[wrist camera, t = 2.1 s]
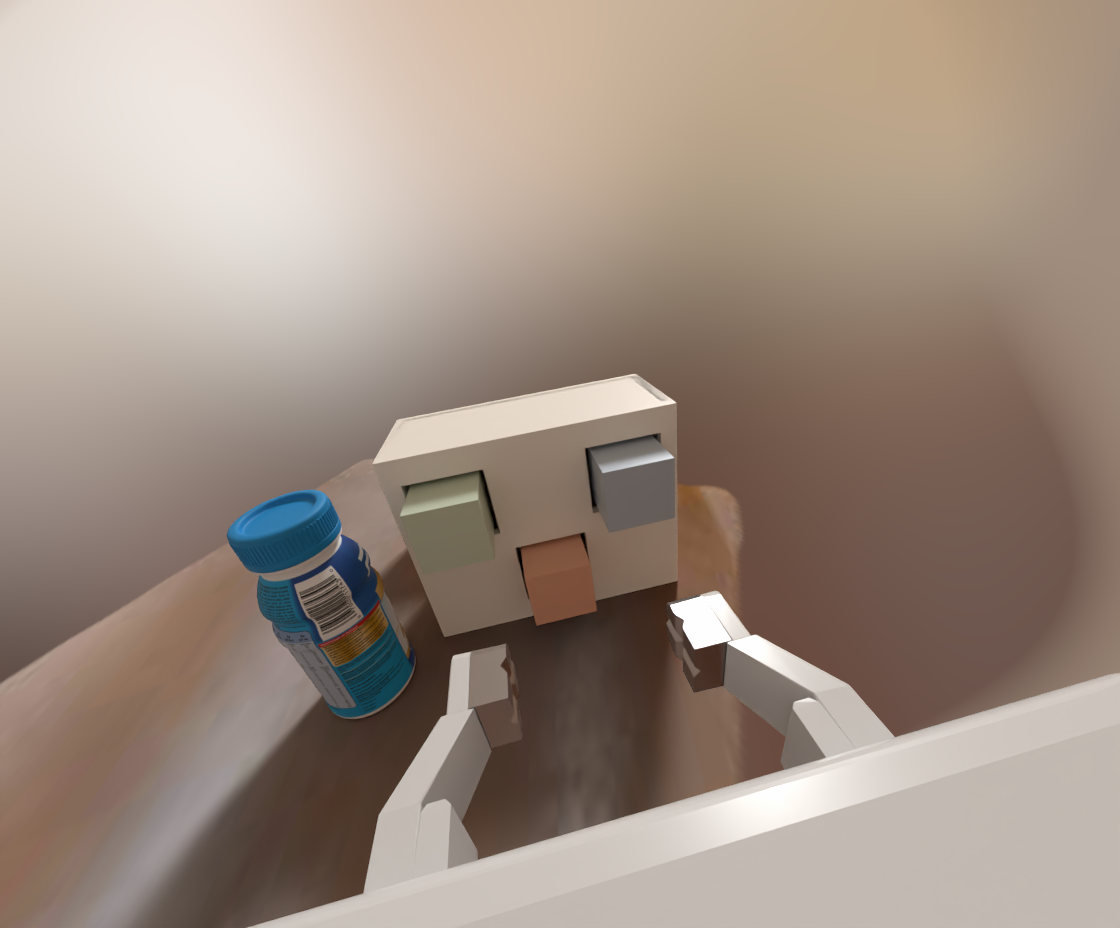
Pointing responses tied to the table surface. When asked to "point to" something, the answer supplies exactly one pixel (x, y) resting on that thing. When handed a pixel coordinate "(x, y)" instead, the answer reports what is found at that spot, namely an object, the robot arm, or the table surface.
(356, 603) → the beverage bottle
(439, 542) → the sage-green button
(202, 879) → the table surface
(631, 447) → the slate-blue button
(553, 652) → the table surface
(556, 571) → the terracotta button
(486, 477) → the button panel
